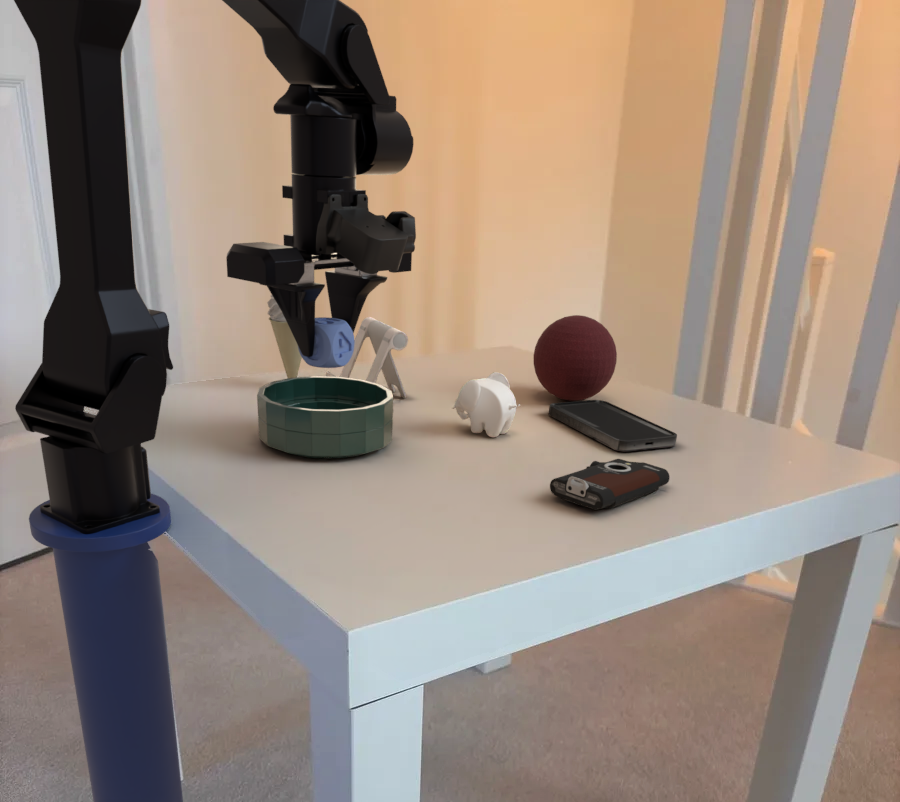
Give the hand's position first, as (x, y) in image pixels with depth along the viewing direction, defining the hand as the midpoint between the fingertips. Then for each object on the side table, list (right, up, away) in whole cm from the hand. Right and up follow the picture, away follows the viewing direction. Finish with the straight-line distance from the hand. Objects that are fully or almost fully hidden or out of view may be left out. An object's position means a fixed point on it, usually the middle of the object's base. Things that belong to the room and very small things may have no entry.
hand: (325, 352), depth 88 cm
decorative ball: (+27, +1, +24) cm, 36 cm away
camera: (+26, -14, -5) cm, 30 cm away
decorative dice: (0, -1, +1) cm, 1 cm away
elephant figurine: (+16, -6, +10) cm, 20 cm away
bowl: (0, -8, +4) cm, 9 cm away
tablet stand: (+2, 0, +20) cm, 21 cm away
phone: (+30, -5, +13) cm, 33 cm away
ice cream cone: (-7, +2, +22) cm, 24 cm away
